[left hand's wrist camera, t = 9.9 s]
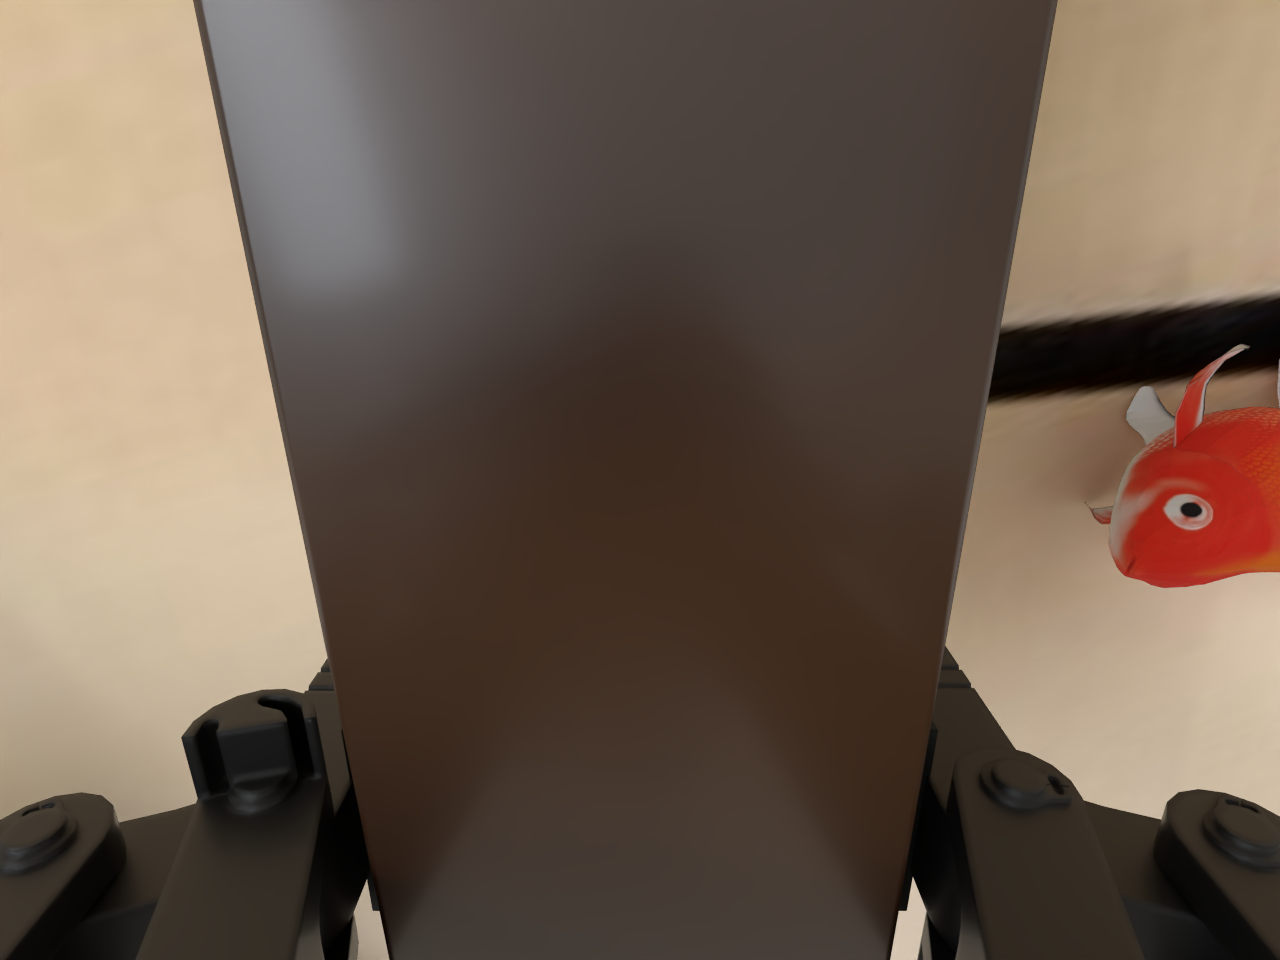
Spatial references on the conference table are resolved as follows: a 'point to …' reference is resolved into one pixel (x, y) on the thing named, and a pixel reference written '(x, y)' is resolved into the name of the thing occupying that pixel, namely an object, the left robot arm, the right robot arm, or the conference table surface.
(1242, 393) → the conference table surface
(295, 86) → the walnut box
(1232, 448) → the fish
